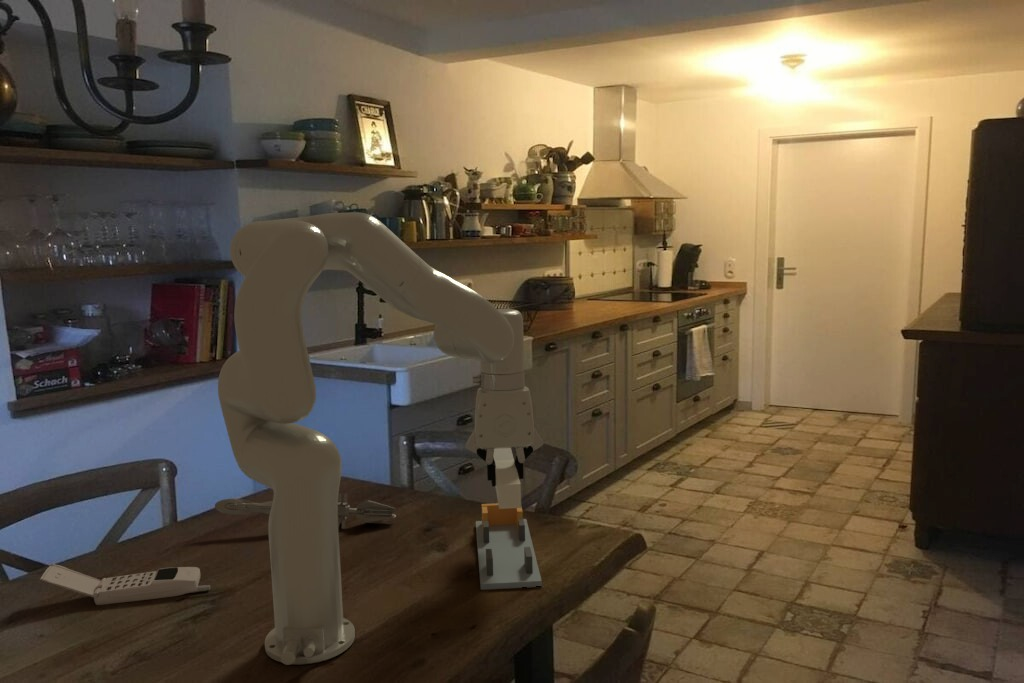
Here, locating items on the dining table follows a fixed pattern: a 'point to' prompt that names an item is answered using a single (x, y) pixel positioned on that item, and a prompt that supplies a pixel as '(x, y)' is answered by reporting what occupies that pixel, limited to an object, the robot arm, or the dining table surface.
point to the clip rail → (505, 549)
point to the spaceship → (364, 510)
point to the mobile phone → (128, 584)
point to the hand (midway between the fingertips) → (505, 482)
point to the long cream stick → (507, 479)
